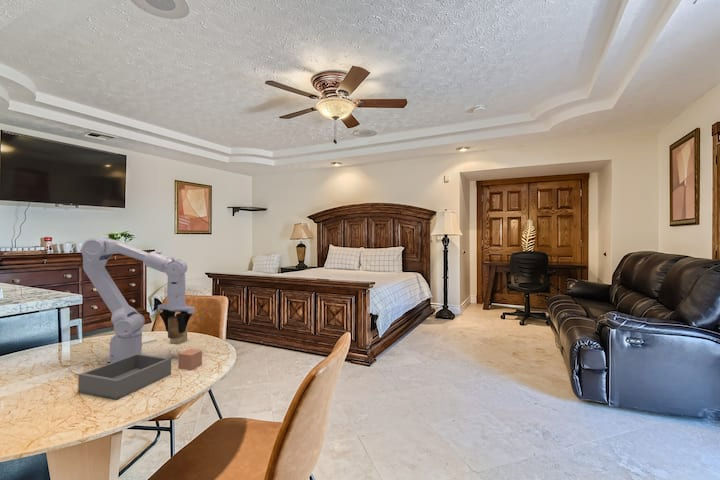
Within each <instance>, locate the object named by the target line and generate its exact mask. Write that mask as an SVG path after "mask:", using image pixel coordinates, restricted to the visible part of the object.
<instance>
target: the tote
mask: <svg viewBox="0 0 720 480" xmlns="http://www.w3.org/2000/svg"><path fill="white" fill-rule="evenodd" d="M170 375H172V358H171V357H164V356H157V355H152V354H151V355H150V354H143V353H142V354H134V355H131V356H128V357H126V358H123V359H120V360H117V361H114V362H108V363H107V364H104V365H101V366H98V367H95V368H93V369H90V370H89V369H88V370H87V371H83V372H81V373H78V376H77V377H78V381H77V382H78V383H77V385H78V387H77V391H78V393H81V394H85V395H90V396H95V397H100V398H106V399H112V400H117V401H118V400H120V399H121V398H123V397H126V396H127V395H130V394H132V393H134V392H136V391H139V390H140V389H142V388H145V387H147V386H149V385H151V384H154V383H156V382H157V381H160V380H162V379H164V378H166V377H168V376H170Z"/></svg>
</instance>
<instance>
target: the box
mask: <svg viewBox="0 0 720 480" xmlns="http://www.w3.org/2000/svg"><path fill="white" fill-rule="evenodd" d="M175 316H176V314H175ZM188 323H189V322H188ZM188 323H187V326H186V330H185V332H184V336H183V337H181V338H175V339H170V338H169V343H170V344H176V345H180V344H183V343H185V342H187V341H188Z"/></svg>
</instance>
